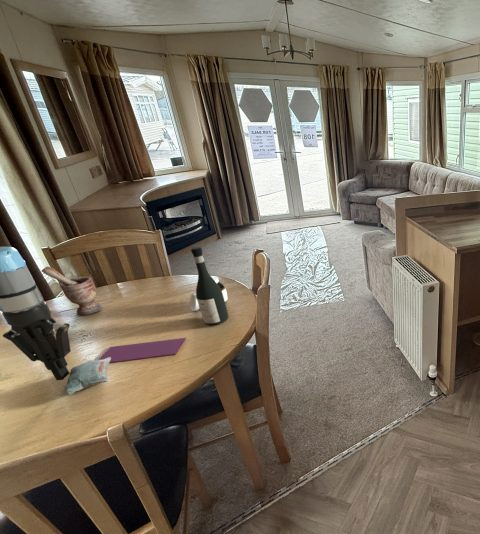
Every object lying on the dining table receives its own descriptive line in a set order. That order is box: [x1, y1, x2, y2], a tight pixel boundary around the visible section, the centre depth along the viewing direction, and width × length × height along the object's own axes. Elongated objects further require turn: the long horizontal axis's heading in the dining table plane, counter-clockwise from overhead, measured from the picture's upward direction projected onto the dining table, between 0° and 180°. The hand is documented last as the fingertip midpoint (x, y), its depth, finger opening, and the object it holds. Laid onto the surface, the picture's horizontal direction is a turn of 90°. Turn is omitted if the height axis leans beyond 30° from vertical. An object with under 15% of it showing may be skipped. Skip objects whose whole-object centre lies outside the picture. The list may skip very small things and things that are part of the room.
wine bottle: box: [190, 246, 229, 326], centre depth 123 cm, size 8×8×30 cm
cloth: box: [97, 337, 187, 364], centre depth 112 cm, size 22×9×1 cm, turn 106°
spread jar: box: [189, 275, 229, 312], centre depth 136 cm, size 12×11×12 cm
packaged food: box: [64, 357, 111, 396], centre depth 98 cm, size 9×12×5 cm
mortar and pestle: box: [41, 266, 103, 316], centre depth 128 cm, size 12×9×20 cm
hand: (63, 376), depth 96 cm, fingers closed
